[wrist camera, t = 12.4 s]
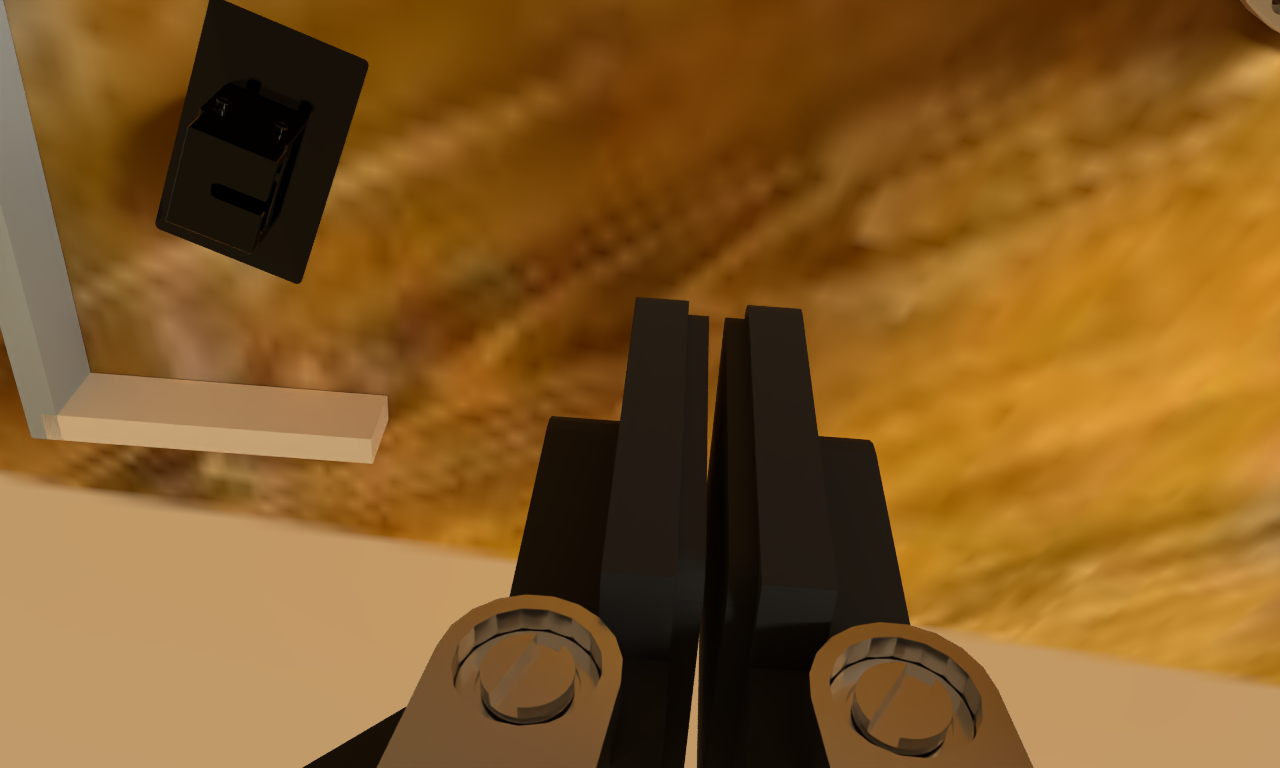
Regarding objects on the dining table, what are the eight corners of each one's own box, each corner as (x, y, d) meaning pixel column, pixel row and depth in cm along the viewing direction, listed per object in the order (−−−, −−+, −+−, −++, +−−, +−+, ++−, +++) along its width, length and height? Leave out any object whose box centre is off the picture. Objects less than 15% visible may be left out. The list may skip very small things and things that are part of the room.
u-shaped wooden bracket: (362, -77, 34) (338, -57, 32) (388, 419, 45) (372, 464, 42) (-63, -117, 34) (-121, -99, 31) (66, 394, 44) (31, 437, 42)
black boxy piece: (312, 311, 43) (278, 376, 39) (127, 240, 41) (71, 301, 37) (409, 25, 37) (379, 68, 33) (194, -73, 35) (135, -39, 31)
